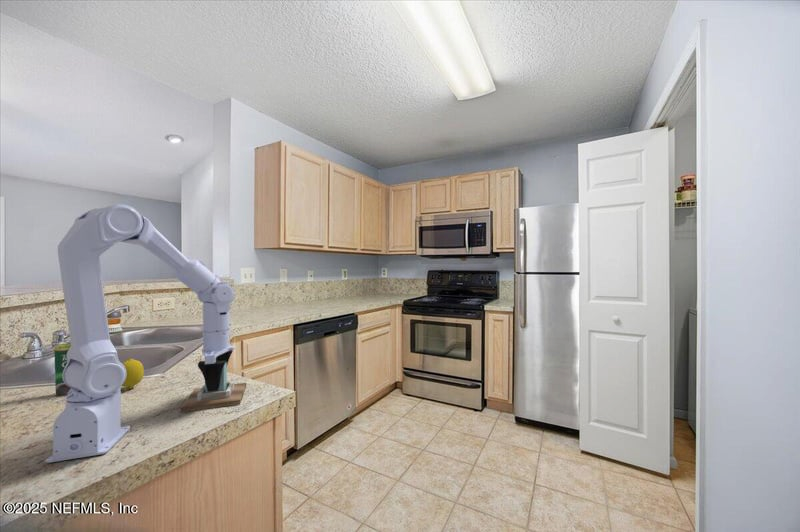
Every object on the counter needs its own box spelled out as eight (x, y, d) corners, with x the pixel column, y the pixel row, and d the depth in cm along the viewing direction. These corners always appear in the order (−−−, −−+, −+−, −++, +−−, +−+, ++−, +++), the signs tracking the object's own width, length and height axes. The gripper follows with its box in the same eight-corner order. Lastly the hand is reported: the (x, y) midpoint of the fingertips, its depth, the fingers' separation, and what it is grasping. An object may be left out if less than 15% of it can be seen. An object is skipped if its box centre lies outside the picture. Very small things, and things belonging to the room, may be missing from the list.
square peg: (223, 396, 77) (223, 367, 77) (204, 398, 75) (204, 369, 75) (226, 390, 80) (226, 362, 80) (208, 392, 79) (208, 364, 79)
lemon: (149, 385, 87) (149, 356, 87) (130, 393, 81) (130, 362, 81) (130, 384, 87) (131, 355, 87) (110, 392, 82) (110, 361, 82)
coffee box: (52, 397, 79) (53, 344, 79) (57, 393, 81) (58, 342, 81) (96, 390, 83) (96, 340, 83) (99, 387, 85) (100, 338, 85)
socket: (240, 404, 74) (240, 393, 74) (180, 412, 70) (180, 401, 70) (246, 386, 86) (246, 377, 86) (195, 392, 82) (195, 382, 82)
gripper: (229, 334, 73) (229, 393, 72) (238, 324, 86) (238, 373, 86) (194, 336, 70) (194, 398, 70) (209, 325, 84) (209, 376, 84)
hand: (216, 385), depth 78 cm, fingers open, 7 cm apart
